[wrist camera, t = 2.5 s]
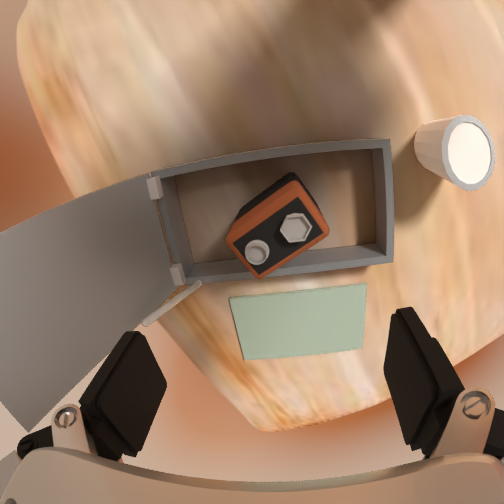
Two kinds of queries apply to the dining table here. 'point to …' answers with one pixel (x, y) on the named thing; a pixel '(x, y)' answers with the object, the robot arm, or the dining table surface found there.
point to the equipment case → (305, 262)
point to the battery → (276, 226)
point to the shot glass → (456, 150)
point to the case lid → (76, 291)
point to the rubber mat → (301, 322)
